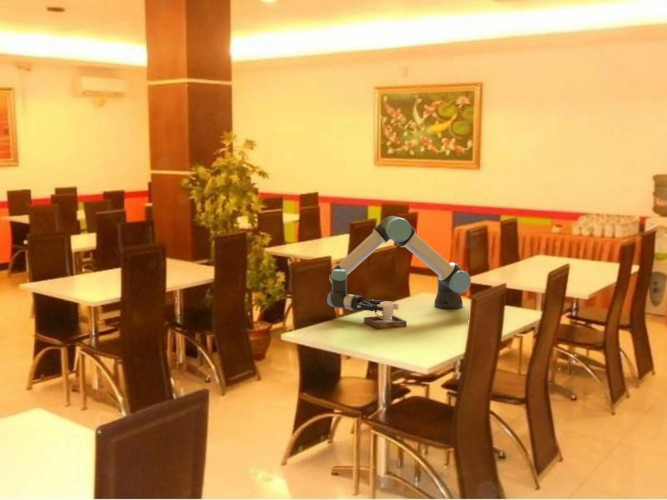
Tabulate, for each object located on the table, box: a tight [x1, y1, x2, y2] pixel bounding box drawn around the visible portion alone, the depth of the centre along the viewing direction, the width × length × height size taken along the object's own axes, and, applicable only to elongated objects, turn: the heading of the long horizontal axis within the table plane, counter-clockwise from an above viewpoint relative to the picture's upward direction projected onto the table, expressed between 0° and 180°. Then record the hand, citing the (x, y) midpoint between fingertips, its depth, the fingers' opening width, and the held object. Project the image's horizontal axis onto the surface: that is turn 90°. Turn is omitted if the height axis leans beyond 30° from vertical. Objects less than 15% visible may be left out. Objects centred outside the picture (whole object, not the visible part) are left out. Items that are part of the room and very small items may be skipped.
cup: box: [373, 300, 395, 320], centre depth 342 cm, size 7×10×8 cm
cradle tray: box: [363, 314, 407, 330], centre depth 343 cm, size 15×15×2 cm
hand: (393, 308), depth 339 cm, fingers closed on cup, 7 cm apart
